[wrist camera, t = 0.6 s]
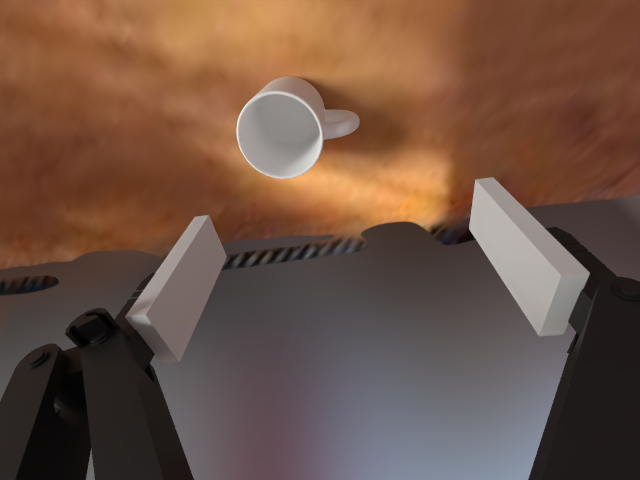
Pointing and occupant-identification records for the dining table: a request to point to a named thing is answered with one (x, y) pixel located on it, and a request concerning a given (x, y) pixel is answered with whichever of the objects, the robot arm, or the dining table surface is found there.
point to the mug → (289, 127)
